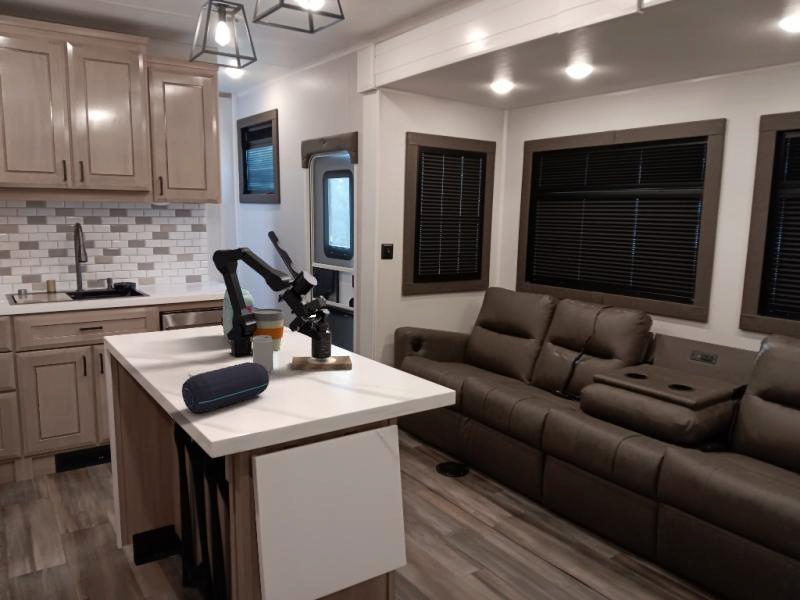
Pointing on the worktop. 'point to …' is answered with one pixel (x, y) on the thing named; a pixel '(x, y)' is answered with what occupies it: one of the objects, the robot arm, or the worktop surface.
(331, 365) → the walnut plinth
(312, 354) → the supplement bottle
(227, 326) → the lunch box
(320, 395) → the worktop surface
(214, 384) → the portable speaker
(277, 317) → the reusable coffee cup
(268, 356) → the beverage can
